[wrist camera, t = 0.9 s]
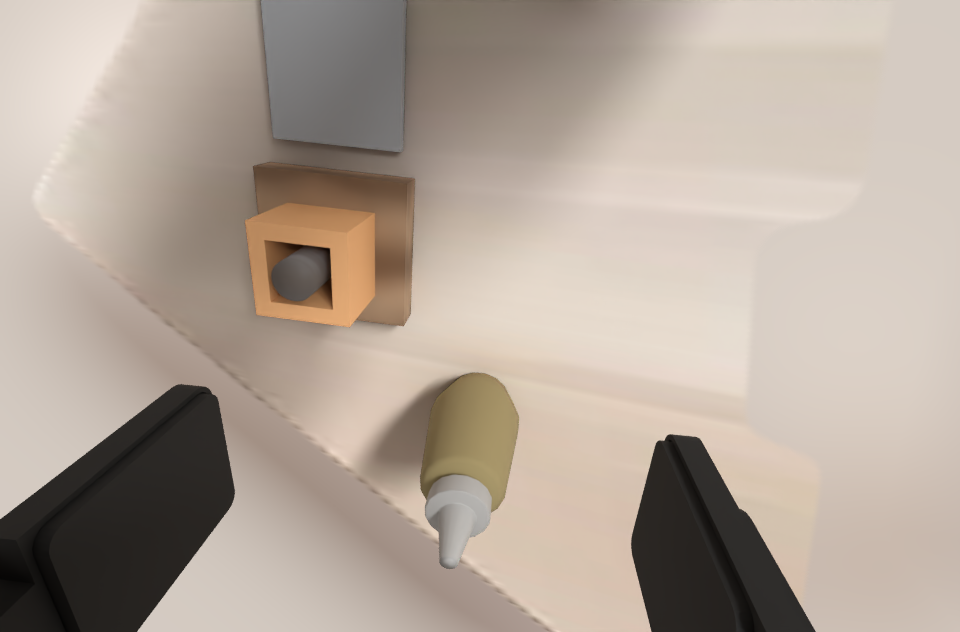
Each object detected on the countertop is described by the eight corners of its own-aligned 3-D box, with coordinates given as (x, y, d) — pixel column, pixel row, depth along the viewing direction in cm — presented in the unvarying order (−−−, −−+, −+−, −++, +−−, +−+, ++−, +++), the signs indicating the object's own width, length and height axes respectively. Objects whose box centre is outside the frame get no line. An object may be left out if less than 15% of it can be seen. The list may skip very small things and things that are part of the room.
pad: (266, -15, 33) (259, -18, 32) (406, -2, 32) (402, -5, 31) (279, 137, 37) (273, 138, 36) (403, 150, 37) (399, 152, 36)
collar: (287, 202, 37) (244, 220, 31) (374, 213, 36) (347, 232, 31) (294, 285, 40) (256, 314, 34) (375, 295, 39) (349, 327, 34)
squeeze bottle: (468, 345, 43) (429, 493, 27) (537, 392, 45) (540, 560, 28) (422, 402, 46) (362, 565, 30) (488, 444, 48) (465, 621, 32)
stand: (269, 162, 38) (192, 180, 29) (414, 178, 37) (379, 202, 29) (282, 297, 43) (220, 346, 35) (410, 314, 42) (379, 368, 34)
